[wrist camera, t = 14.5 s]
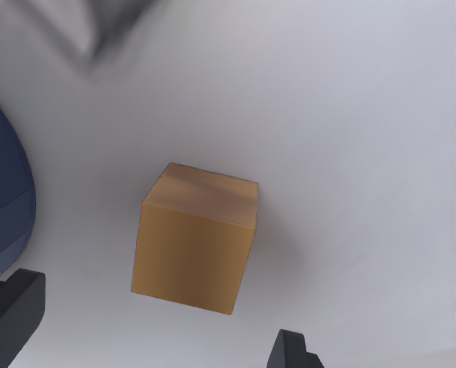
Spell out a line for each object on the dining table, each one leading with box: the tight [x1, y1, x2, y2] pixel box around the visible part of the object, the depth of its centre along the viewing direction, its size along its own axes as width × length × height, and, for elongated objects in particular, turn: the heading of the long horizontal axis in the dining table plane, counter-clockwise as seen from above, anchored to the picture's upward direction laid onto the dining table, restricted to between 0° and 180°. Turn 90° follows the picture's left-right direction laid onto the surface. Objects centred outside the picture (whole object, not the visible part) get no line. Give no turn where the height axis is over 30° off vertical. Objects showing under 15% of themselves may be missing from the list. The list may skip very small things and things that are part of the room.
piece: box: [131, 163, 258, 315], centre depth 17 cm, size 5×5×5 cm
